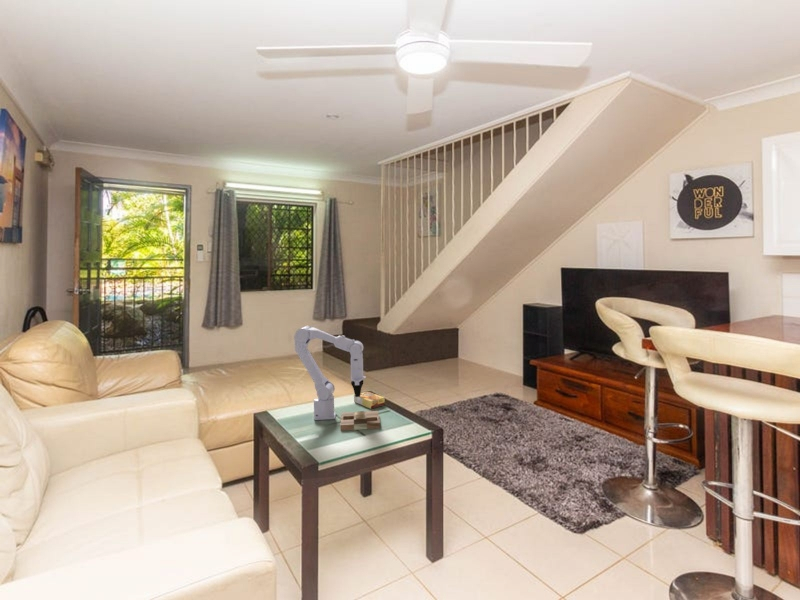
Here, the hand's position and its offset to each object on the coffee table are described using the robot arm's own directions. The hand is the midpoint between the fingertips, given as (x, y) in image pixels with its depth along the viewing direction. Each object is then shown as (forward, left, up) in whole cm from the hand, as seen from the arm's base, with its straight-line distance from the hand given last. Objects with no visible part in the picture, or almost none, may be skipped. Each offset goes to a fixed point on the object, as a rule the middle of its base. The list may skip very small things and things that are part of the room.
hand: (357, 396), depth 198 cm
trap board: (+1, -8, -10) cm, 13 cm away
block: (+1, -13, -7) cm, 15 cm away
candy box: (+10, +12, -8) cm, 18 cm away
